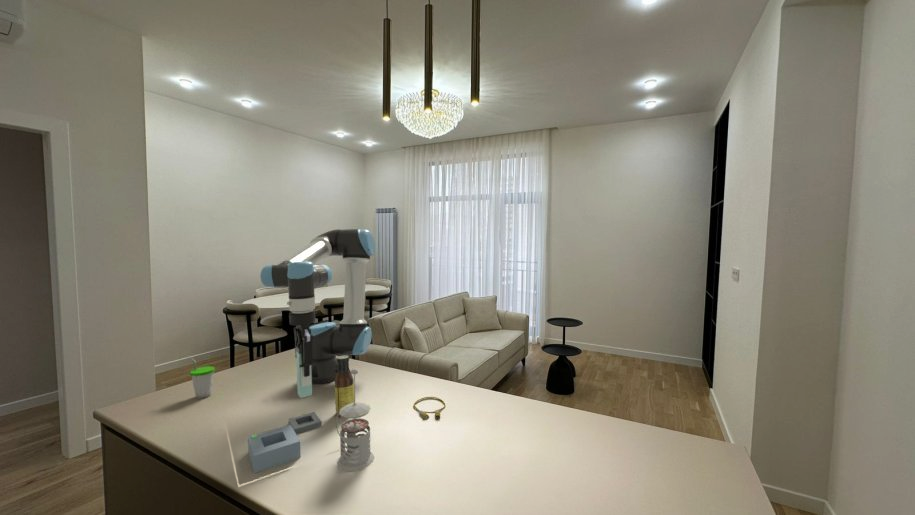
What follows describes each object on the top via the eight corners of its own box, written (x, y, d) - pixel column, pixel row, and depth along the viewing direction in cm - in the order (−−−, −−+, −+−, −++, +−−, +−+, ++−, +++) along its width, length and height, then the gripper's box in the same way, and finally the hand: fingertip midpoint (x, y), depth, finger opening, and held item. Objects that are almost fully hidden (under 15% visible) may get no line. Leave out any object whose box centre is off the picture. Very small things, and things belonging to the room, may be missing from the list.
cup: (219, 394, 139) (218, 356, 138) (196, 402, 132) (194, 362, 131) (210, 390, 143) (208, 353, 142) (187, 397, 136) (185, 358, 136)
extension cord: (404, 418, 121) (403, 412, 121) (420, 398, 136) (420, 393, 136) (438, 422, 118) (438, 416, 118) (451, 401, 133) (451, 396, 133)
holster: (314, 417, 121) (314, 411, 120) (321, 427, 114) (321, 421, 114) (288, 425, 116) (288, 419, 116) (294, 435, 109) (294, 429, 109)
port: (291, 441, 107) (290, 423, 106) (300, 459, 98) (300, 439, 97) (248, 454, 100) (247, 435, 100) (254, 475, 91) (253, 454, 91)
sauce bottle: (358, 412, 124) (357, 355, 123) (346, 420, 119) (345, 361, 118) (344, 408, 127) (343, 353, 126) (331, 416, 121) (329, 358, 120)
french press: (354, 476, 91) (352, 378, 89) (324, 461, 97) (322, 369, 96) (381, 456, 99) (380, 366, 98) (352, 443, 105) (351, 359, 104)
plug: (309, 391, 117) (307, 344, 116) (312, 394, 115) (310, 347, 114) (297, 393, 115) (296, 346, 114) (300, 397, 113) (298, 349, 112)
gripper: (283, 308, 118) (286, 378, 119) (295, 317, 104) (298, 395, 106) (307, 305, 122) (309, 372, 124) (322, 313, 109) (324, 389, 110)
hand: (304, 383), depth 115 cm, fingers closed on plug, 3 cm apart
